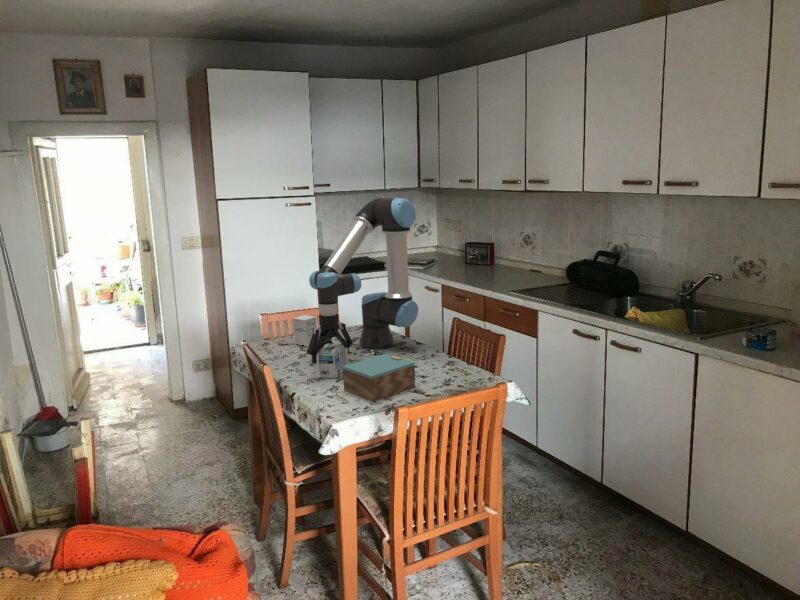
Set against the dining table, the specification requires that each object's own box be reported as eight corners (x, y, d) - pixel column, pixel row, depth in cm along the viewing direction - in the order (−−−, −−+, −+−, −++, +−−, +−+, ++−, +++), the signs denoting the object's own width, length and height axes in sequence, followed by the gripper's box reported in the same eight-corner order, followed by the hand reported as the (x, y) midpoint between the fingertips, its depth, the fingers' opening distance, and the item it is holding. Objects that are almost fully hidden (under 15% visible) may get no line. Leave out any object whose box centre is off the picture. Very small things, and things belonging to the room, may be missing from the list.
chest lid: (385, 356, 243) (385, 352, 243) (414, 365, 231) (414, 360, 231) (342, 368, 230) (342, 364, 230) (371, 378, 218) (371, 374, 218)
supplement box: (294, 345, 291) (293, 317, 289) (306, 341, 297) (304, 314, 295) (306, 347, 287) (305, 319, 285) (318, 343, 293) (316, 316, 290)
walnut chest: (386, 376, 245) (385, 356, 243) (415, 386, 233) (414, 365, 231) (344, 390, 232) (342, 368, 230) (372, 401, 220) (371, 378, 218)
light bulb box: (336, 378, 244) (334, 351, 242) (319, 378, 246) (317, 351, 243) (344, 369, 254) (342, 343, 252) (328, 369, 256) (326, 343, 254)
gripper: (348, 306, 256) (350, 358, 260) (295, 317, 239) (298, 372, 244) (360, 309, 250) (362, 362, 255) (306, 321, 234) (310, 377, 238)
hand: (331, 367), depth 249 cm, fingers open, 13 cm apart
